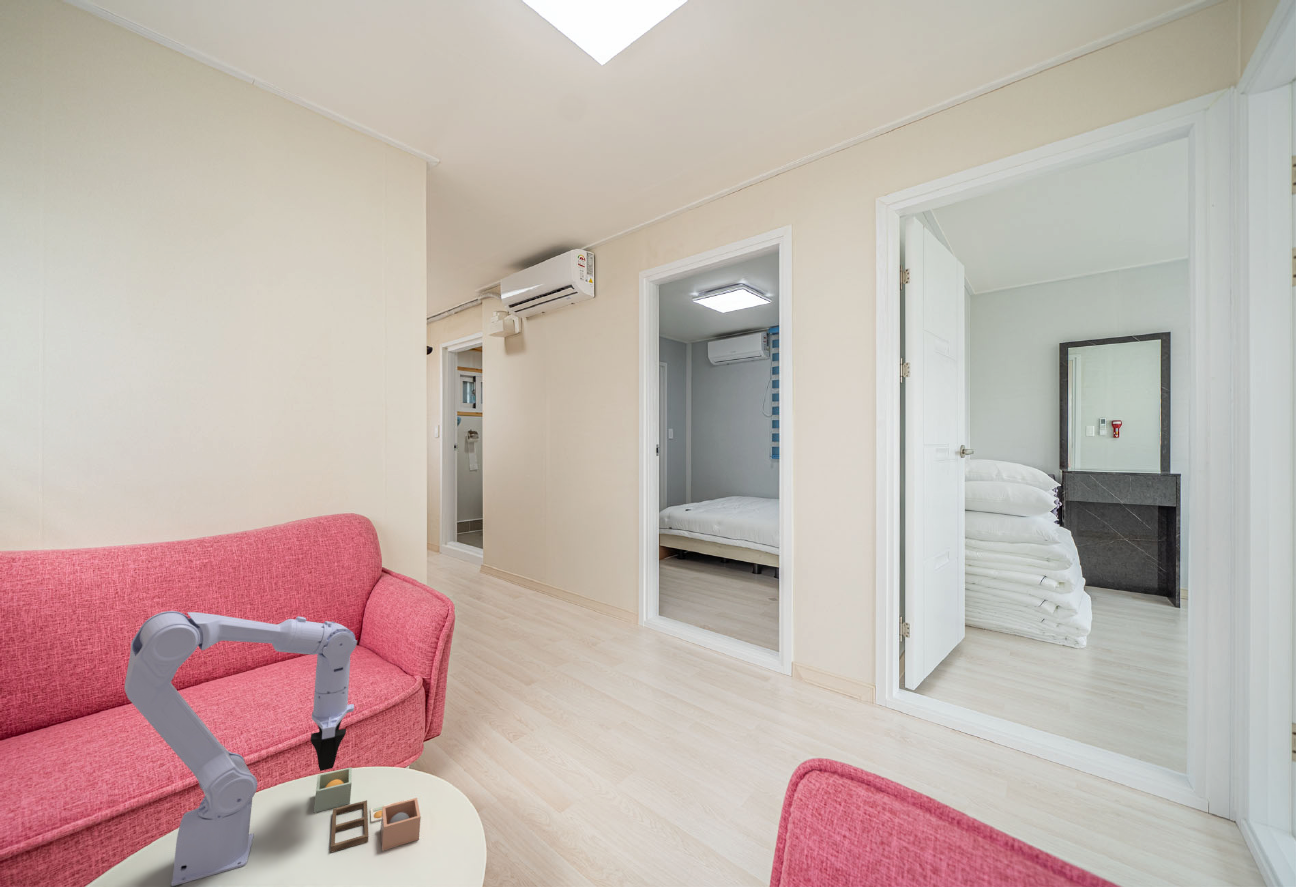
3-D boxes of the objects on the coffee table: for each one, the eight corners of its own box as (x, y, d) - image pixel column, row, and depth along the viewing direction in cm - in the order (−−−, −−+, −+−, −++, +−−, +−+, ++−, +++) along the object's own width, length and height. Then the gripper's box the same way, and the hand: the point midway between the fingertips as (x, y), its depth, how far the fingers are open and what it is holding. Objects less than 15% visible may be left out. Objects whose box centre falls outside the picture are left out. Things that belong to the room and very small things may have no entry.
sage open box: (314, 812, 97) (315, 791, 97) (316, 795, 102) (317, 774, 102) (349, 803, 100) (351, 783, 100) (349, 786, 105) (351, 767, 105)
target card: (370, 823, 95) (371, 820, 95) (370, 810, 98) (370, 808, 98) (405, 813, 98) (405, 811, 98) (403, 801, 101) (404, 799, 101)
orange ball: (343, 802, 100) (344, 784, 100) (322, 807, 98) (323, 788, 98) (344, 791, 103) (345, 773, 103) (323, 796, 101) (325, 778, 102)
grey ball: (389, 844, 90) (388, 825, 90) (387, 831, 93) (387, 812, 93) (411, 836, 92) (410, 816, 92) (409, 823, 95) (408, 805, 95)
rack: (330, 852, 87) (330, 846, 87) (332, 814, 96) (332, 809, 96) (368, 841, 90) (368, 836, 90) (366, 805, 99) (367, 800, 99)
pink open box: (382, 850, 88) (384, 827, 88) (380, 829, 93) (382, 807, 93) (418, 839, 91) (420, 816, 91) (415, 819, 96) (417, 797, 96)
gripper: (355, 698, 94) (351, 772, 93) (355, 670, 106) (351, 735, 105) (310, 706, 90) (305, 783, 89) (315, 676, 103) (311, 743, 102)
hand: (327, 758), depth 97 cm, fingers open, 7 cm apart
